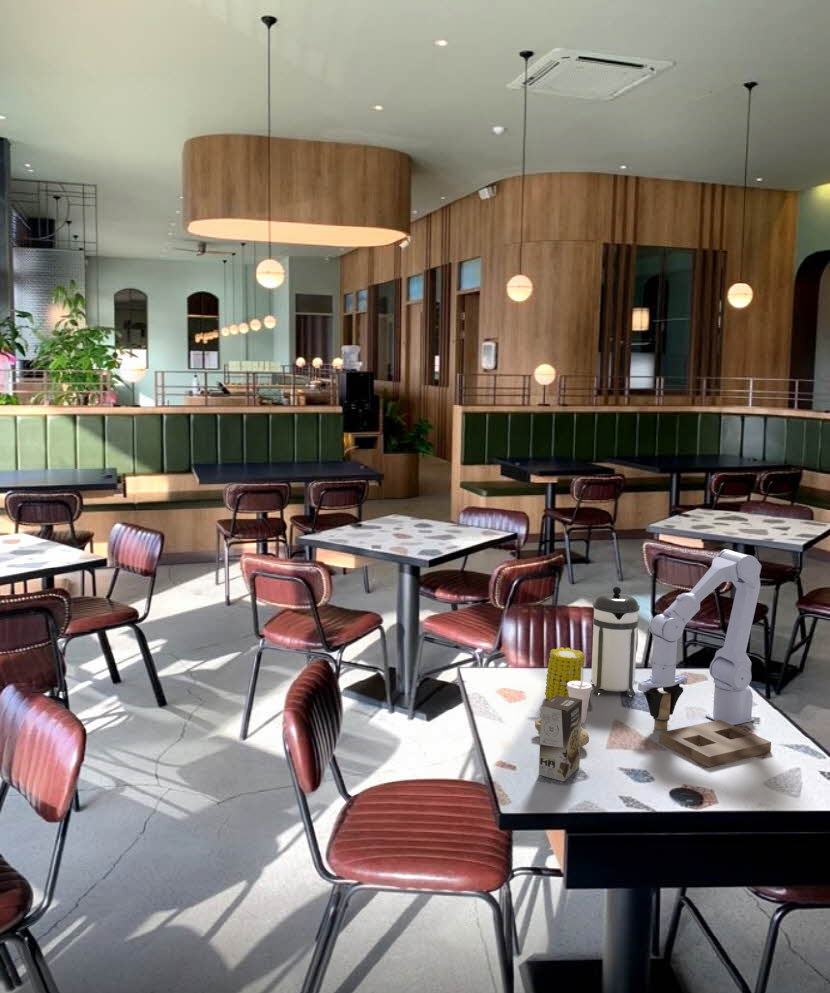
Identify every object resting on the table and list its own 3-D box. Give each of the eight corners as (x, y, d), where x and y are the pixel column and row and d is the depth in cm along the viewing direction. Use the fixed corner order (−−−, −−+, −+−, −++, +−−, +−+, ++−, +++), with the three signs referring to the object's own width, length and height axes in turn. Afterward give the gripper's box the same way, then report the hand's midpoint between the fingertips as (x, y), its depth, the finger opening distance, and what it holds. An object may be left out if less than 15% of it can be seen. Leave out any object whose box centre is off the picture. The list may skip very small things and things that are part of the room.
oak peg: (661, 724, 233) (662, 690, 232) (672, 729, 229) (674, 695, 228) (649, 726, 231) (650, 692, 230) (660, 732, 227) (662, 697, 226)
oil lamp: (536, 731, 227) (537, 712, 226) (594, 740, 222) (594, 720, 221) (525, 747, 217) (526, 727, 216) (586, 756, 212) (586, 736, 211)
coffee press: (653, 692, 257) (658, 588, 253) (613, 703, 248) (618, 595, 244) (608, 675, 271) (612, 576, 267) (568, 685, 262) (572, 582, 258)
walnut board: (719, 729, 230) (719, 719, 230) (770, 752, 216) (771, 742, 216) (659, 742, 221) (659, 732, 220) (708, 767, 207) (709, 756, 206)
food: (561, 697, 256) (585, 710, 248) (530, 695, 250) (554, 708, 241) (574, 645, 255) (599, 656, 247) (543, 641, 249) (568, 652, 241)
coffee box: (564, 782, 198) (567, 710, 196) (537, 775, 201) (540, 704, 199) (580, 767, 205) (583, 698, 203) (554, 761, 209) (556, 693, 207)
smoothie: (590, 726, 230) (592, 672, 229) (564, 724, 232) (566, 670, 230) (590, 717, 237) (592, 665, 235) (565, 715, 238) (567, 663, 236)
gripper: (674, 654, 235) (671, 705, 237) (630, 662, 228) (628, 714, 230) (694, 662, 229) (691, 714, 230) (650, 670, 222) (647, 723, 224)
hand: (661, 715), depth 230 cm, fingers open, 4 cm apart
